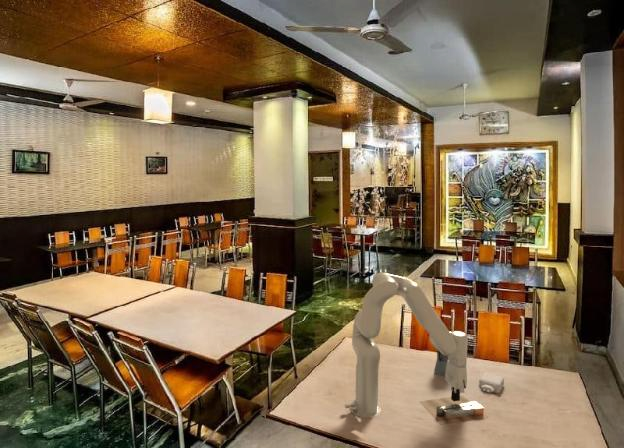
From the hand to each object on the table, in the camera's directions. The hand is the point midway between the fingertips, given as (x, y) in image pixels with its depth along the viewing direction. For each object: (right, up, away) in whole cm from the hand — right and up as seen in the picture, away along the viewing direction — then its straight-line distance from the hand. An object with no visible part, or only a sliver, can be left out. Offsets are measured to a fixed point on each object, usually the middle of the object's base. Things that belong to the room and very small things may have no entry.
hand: (455, 400), depth 182 cm
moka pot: (+4, 0, +30) cm, 30 cm away
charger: (+22, -2, +15) cm, 26 cm away
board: (-3, -3, -4) cm, 6 cm away
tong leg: (-2, -2, -7) cm, 8 cm away
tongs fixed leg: (0, -2, -10) cm, 10 cm away
